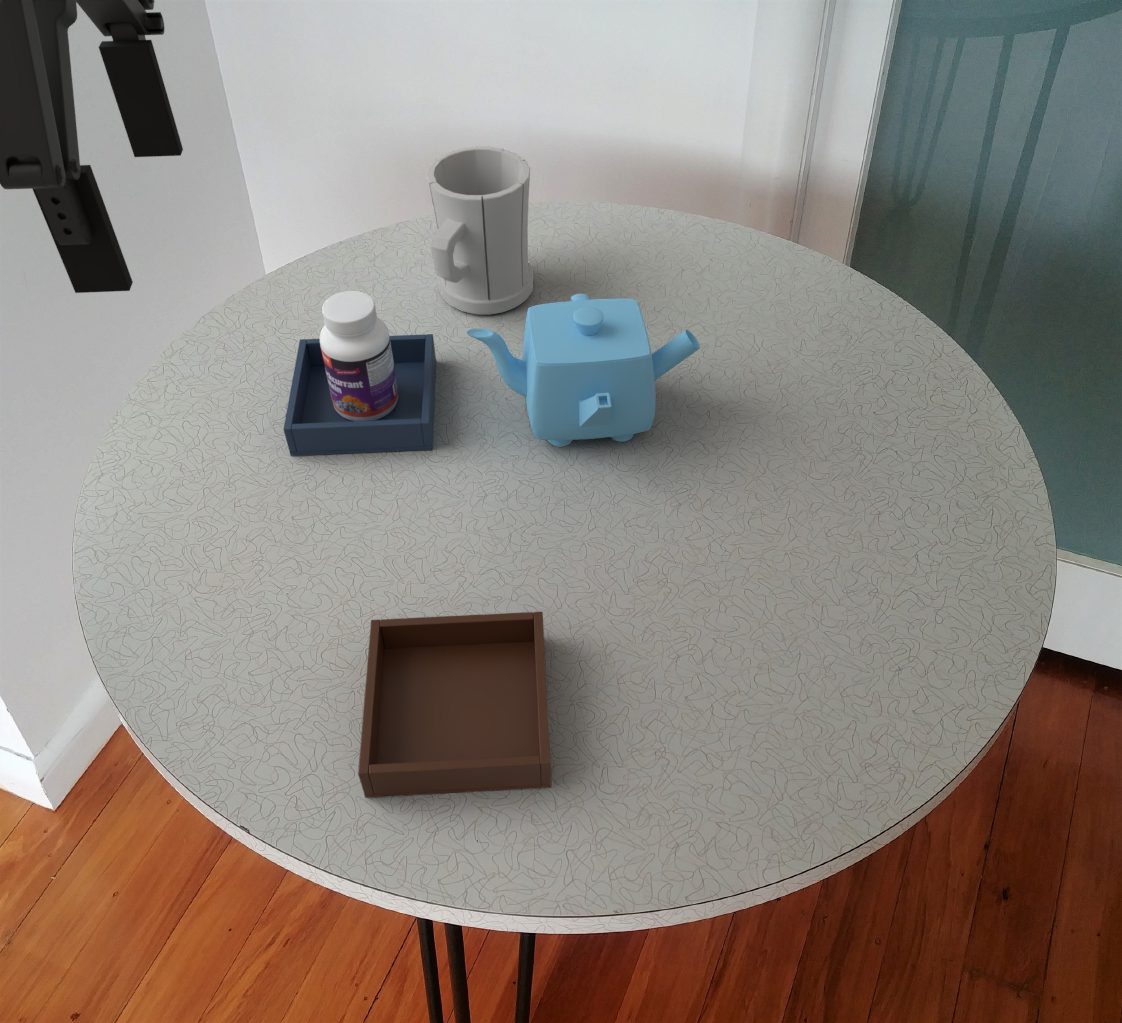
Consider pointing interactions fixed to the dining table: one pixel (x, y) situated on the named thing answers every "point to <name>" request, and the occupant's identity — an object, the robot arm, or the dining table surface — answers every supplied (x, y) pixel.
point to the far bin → (327, 432)
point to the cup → (481, 228)
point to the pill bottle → (357, 357)
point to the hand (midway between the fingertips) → (134, 216)
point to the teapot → (587, 368)
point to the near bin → (455, 706)
